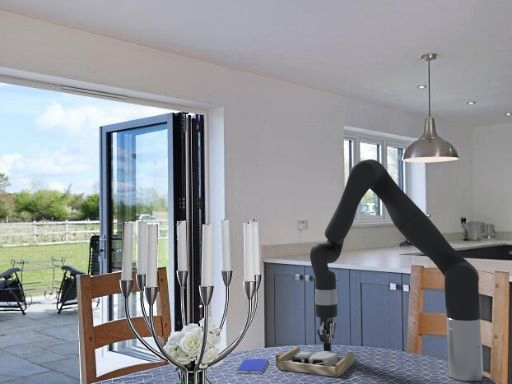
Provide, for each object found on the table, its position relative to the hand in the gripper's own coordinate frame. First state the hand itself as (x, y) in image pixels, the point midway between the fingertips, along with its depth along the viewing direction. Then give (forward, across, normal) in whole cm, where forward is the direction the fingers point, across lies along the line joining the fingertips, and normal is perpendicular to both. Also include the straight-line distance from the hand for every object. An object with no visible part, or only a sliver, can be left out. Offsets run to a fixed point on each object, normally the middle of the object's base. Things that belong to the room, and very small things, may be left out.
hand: (327, 353), depth 181 cm
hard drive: (+2, -20, +18) cm, 27 cm away
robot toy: (+2, -11, 0) cm, 11 cm away
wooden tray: (+1, -11, +1) cm, 11 cm away
